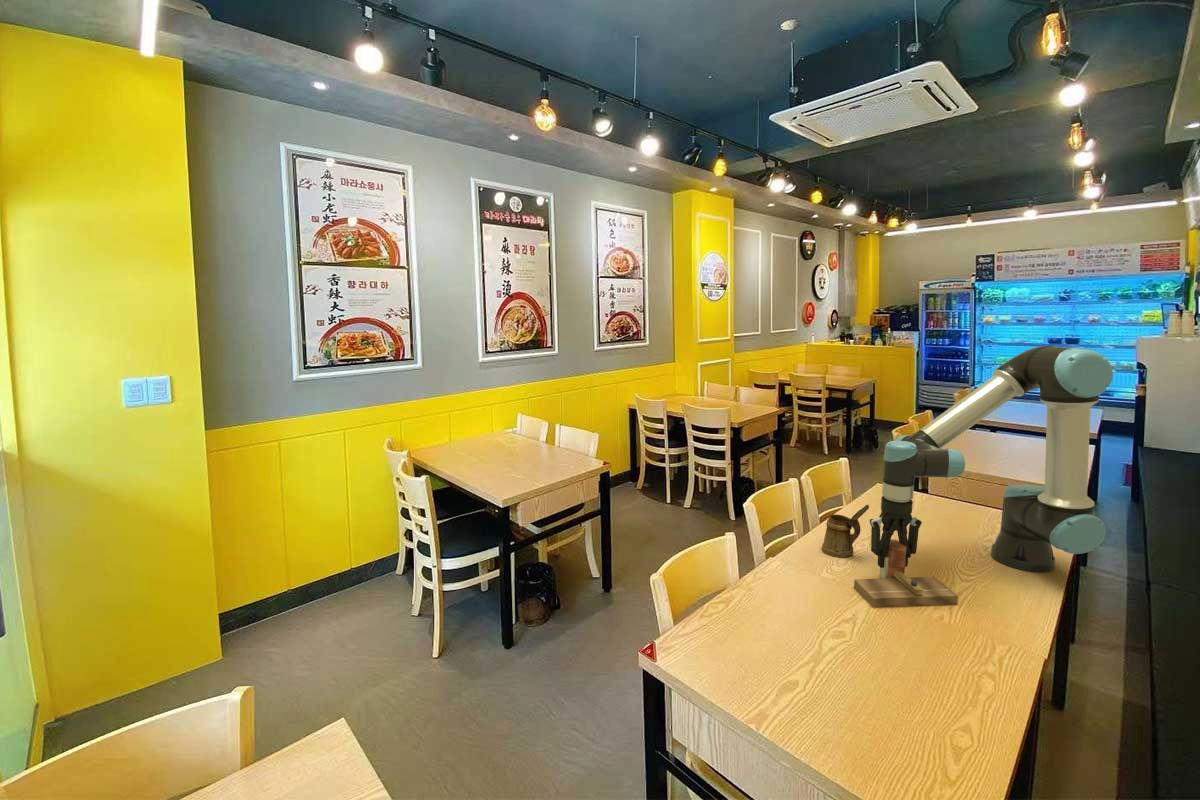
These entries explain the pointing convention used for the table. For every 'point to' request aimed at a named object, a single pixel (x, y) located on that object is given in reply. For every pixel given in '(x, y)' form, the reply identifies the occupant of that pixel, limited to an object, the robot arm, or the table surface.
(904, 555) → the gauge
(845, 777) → the table surface
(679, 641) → the table surface
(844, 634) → the table surface
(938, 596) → the board
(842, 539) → the wooden mug
